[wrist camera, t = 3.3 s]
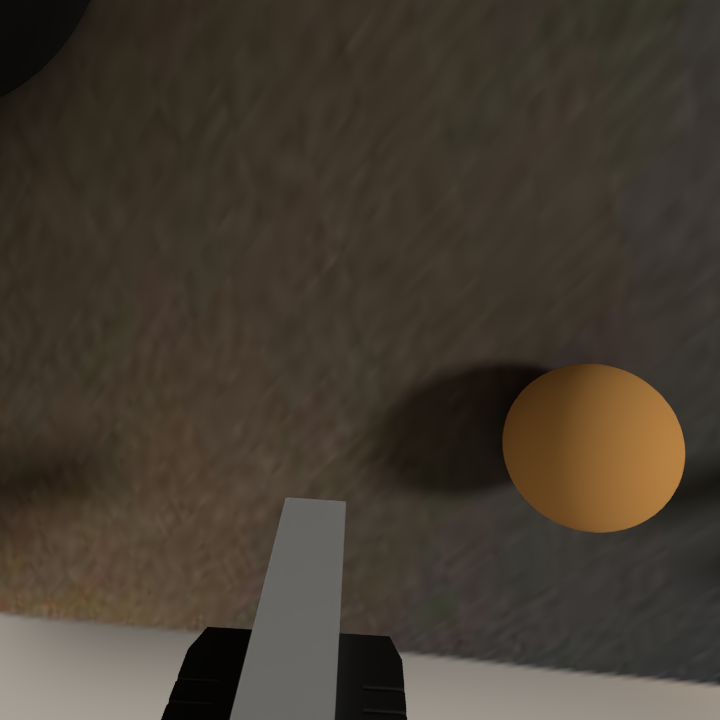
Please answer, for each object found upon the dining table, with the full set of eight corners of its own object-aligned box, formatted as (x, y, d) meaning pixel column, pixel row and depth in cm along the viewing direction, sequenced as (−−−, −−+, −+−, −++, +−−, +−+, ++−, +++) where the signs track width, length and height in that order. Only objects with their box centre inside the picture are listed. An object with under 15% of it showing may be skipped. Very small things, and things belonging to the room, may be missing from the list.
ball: (457, 428, 22) (491, 513, 16) (550, 314, 20) (624, 364, 14) (564, 497, 23) (631, 599, 17) (660, 394, 21) (770, 469, 16)
